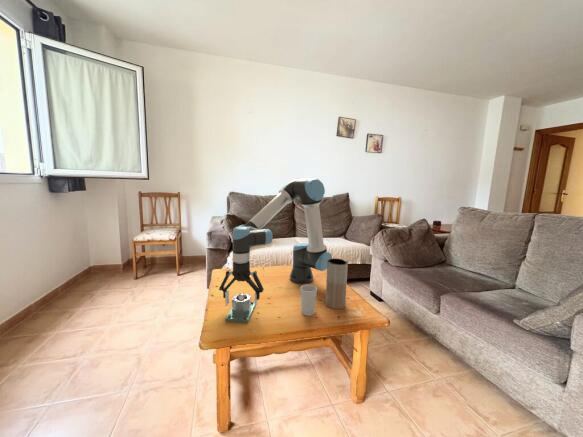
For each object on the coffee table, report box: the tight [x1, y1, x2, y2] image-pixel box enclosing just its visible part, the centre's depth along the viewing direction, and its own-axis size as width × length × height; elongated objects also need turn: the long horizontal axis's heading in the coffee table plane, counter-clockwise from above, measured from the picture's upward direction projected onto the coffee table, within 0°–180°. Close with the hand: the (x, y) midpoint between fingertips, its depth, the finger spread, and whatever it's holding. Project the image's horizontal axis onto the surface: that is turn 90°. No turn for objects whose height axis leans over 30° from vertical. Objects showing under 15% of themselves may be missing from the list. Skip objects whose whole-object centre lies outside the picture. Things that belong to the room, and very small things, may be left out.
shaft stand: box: [224, 292, 256, 324], centre depth 110 cm, size 10×16×9 cm, turn 176°
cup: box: [299, 284, 318, 316], centre depth 112 cm, size 8×8×12 cm
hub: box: [231, 293, 252, 314], centre depth 110 cm, size 8×8×6 cm
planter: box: [325, 257, 349, 310], centre depth 120 cm, size 10×10×23 cm
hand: (241, 305), depth 110 cm, fingers open, 13 cm apart
